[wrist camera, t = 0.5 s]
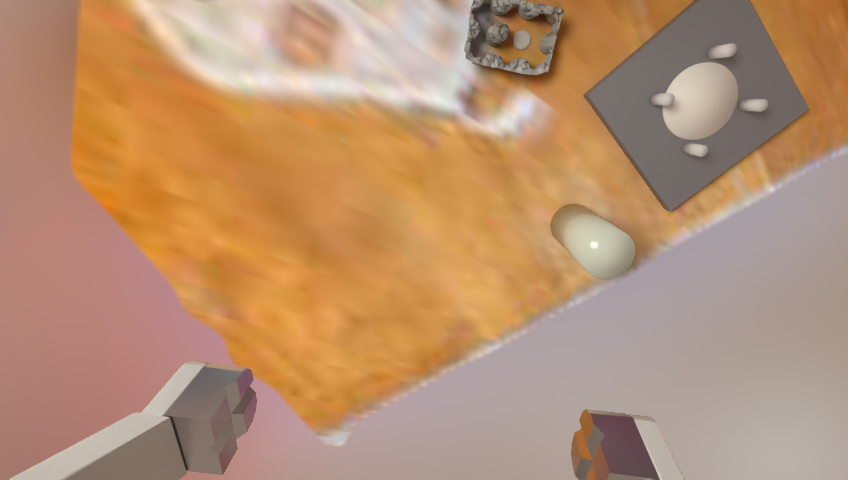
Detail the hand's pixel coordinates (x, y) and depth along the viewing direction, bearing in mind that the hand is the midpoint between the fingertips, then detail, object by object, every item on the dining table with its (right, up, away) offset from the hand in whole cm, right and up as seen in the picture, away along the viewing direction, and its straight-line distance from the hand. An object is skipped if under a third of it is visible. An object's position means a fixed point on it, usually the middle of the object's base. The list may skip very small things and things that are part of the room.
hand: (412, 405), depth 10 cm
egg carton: (+11, +29, +40) cm, 51 cm away
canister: (+21, +6, +48) cm, 53 cm away
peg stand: (+35, +22, +43) cm, 59 cm away
